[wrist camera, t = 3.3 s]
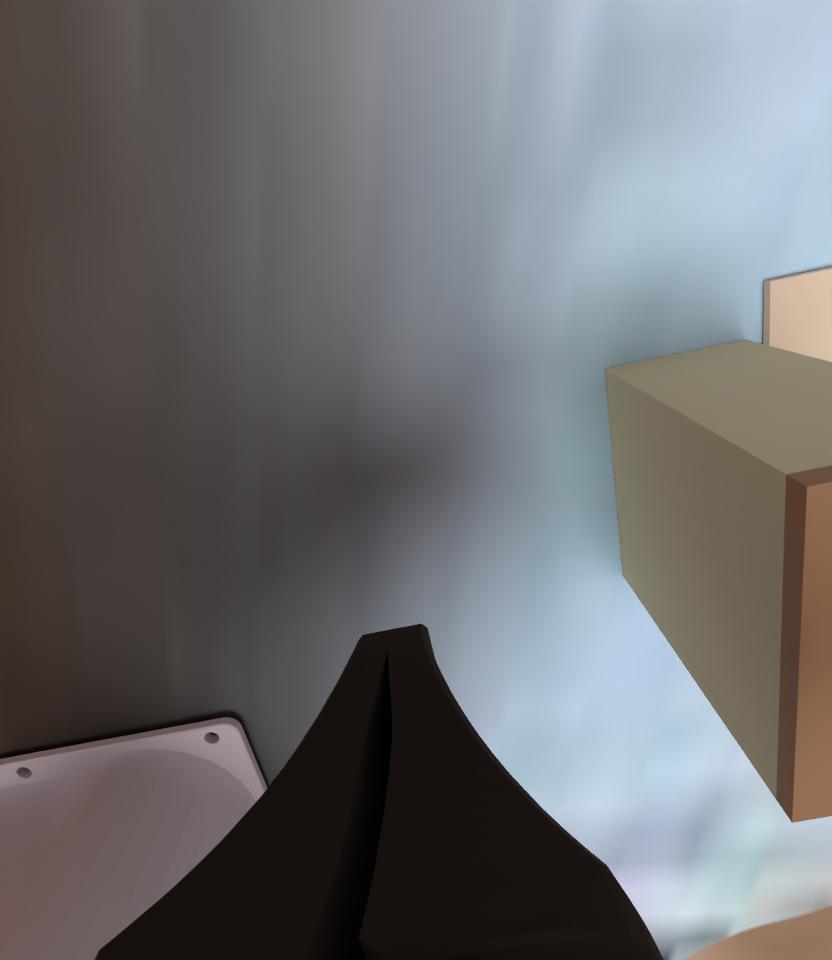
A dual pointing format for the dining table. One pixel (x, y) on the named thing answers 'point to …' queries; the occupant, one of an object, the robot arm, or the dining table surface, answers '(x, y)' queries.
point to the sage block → (737, 542)
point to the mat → (800, 313)
